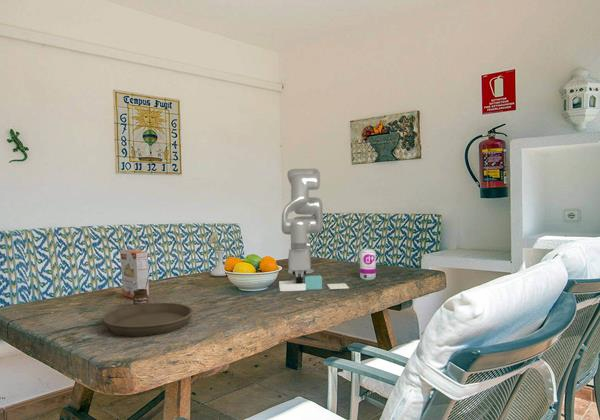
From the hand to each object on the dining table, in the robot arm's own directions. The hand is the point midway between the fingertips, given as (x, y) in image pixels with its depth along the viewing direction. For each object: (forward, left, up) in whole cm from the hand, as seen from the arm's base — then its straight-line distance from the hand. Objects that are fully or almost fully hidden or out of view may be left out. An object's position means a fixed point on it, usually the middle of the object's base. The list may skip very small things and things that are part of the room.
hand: (299, 284), depth 229 cm
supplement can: (-19, +38, -2) cm, 42 cm away
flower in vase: (-40, -40, -2) cm, 57 cm away
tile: (-1, +19, -2) cm, 19 cm away
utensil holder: (+25, -67, -2) cm, 72 cm away
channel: (0, -3, -2) cm, 4 cm away
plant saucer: (+52, -58, -2) cm, 78 cm away
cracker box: (+6, -74, -2) cm, 75 cm away
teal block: (0, +7, -2) cm, 7 cm away
